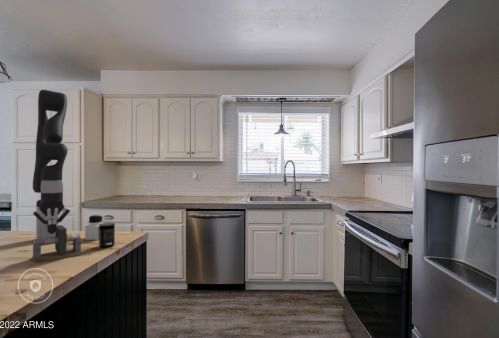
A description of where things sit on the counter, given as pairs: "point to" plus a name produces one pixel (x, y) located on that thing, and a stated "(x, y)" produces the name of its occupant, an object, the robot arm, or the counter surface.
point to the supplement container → (106, 235)
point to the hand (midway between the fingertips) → (51, 233)
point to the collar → (61, 239)
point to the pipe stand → (55, 255)
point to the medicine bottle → (93, 227)
